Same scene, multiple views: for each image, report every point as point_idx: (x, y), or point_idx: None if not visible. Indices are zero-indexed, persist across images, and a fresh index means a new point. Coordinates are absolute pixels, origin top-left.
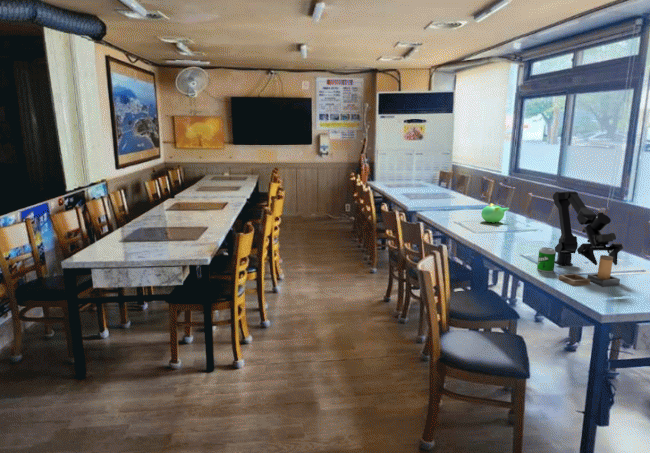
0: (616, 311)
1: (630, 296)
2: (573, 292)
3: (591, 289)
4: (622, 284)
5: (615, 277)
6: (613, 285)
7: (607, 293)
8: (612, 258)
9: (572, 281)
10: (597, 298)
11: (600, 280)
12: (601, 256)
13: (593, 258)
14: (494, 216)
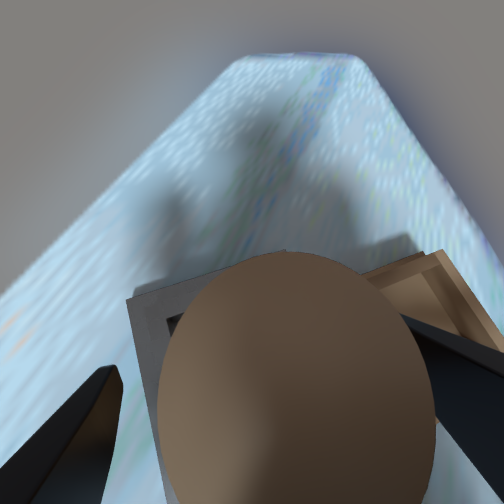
0: (316, 67)
1: (194, 171)
2: (413, 200)
3: (334, 243)
4: (132, 315)
5: (154, 351)
6: (208, 283)
7: (280, 198)
8: (217, 280)
9: (442, 256)
10: (339, 148)
11: None
12: (418, 365)
13: (498, 352)
14: None
